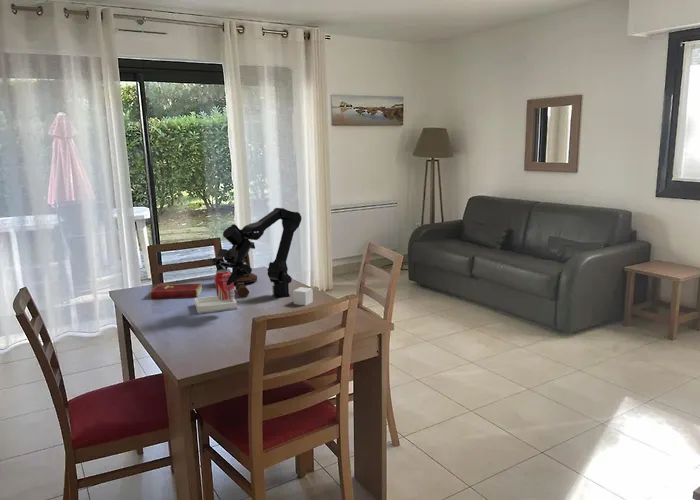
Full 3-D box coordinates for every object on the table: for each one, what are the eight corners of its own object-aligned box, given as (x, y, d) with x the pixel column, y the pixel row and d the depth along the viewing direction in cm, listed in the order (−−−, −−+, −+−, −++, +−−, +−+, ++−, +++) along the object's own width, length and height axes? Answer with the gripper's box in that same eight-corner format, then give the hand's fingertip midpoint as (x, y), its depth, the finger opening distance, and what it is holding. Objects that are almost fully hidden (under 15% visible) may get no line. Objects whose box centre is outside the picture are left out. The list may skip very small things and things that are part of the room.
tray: (232, 300, 237) (231, 293, 236) (237, 309, 224) (236, 302, 223) (194, 304, 231) (194, 298, 230) (198, 314, 218) (197, 307, 217)
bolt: (241, 293, 255) (245, 300, 241) (232, 289, 253) (235, 296, 239) (247, 282, 255) (251, 289, 241) (237, 278, 253) (240, 284, 239)
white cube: (312, 301, 232) (312, 288, 231) (305, 305, 227) (305, 292, 226) (301, 300, 235) (300, 287, 234) (293, 304, 229) (293, 290, 228)
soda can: (220, 298, 219) (216, 269, 217) (237, 296, 219) (233, 268, 217) (215, 302, 212) (211, 273, 210) (233, 301, 212) (229, 271, 210)
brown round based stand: (263, 281, 268) (261, 242, 264) (238, 287, 257) (236, 247, 253) (246, 277, 278) (243, 239, 274) (221, 282, 267) (219, 243, 263)
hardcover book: (197, 298, 242) (196, 289, 242) (150, 300, 241) (149, 291, 240) (202, 291, 254) (202, 282, 253) (158, 292, 253) (157, 284, 252)
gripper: (213, 238, 220) (193, 270, 213) (244, 242, 209) (224, 276, 202) (229, 253, 228) (211, 284, 221) (260, 258, 217) (241, 290, 210)
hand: (221, 283), depth 214 cm, fingers closed on soda can, 7 cm apart
